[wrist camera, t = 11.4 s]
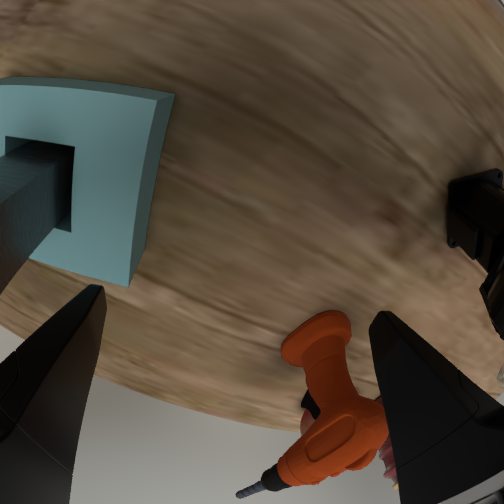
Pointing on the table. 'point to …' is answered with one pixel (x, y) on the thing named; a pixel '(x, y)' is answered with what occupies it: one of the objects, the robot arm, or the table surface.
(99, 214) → the block
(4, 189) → the grey t-shaped bar
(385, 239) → the table surface
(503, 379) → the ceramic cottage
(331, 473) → the toy drill
